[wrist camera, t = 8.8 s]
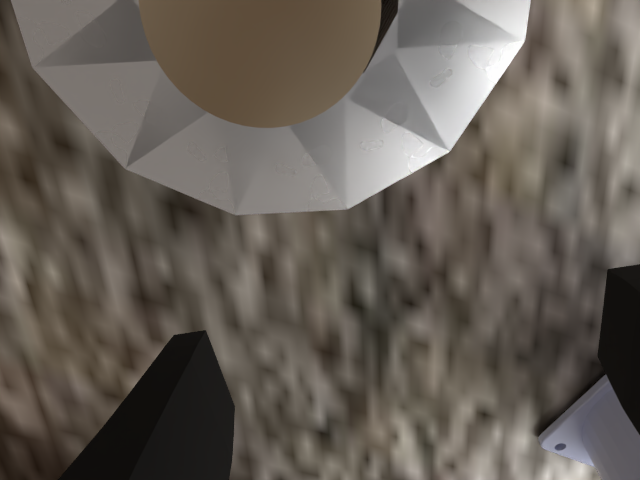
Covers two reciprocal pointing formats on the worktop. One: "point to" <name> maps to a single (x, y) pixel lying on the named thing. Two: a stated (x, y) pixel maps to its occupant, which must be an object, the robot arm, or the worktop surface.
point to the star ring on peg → (281, 142)
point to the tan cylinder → (262, 54)
